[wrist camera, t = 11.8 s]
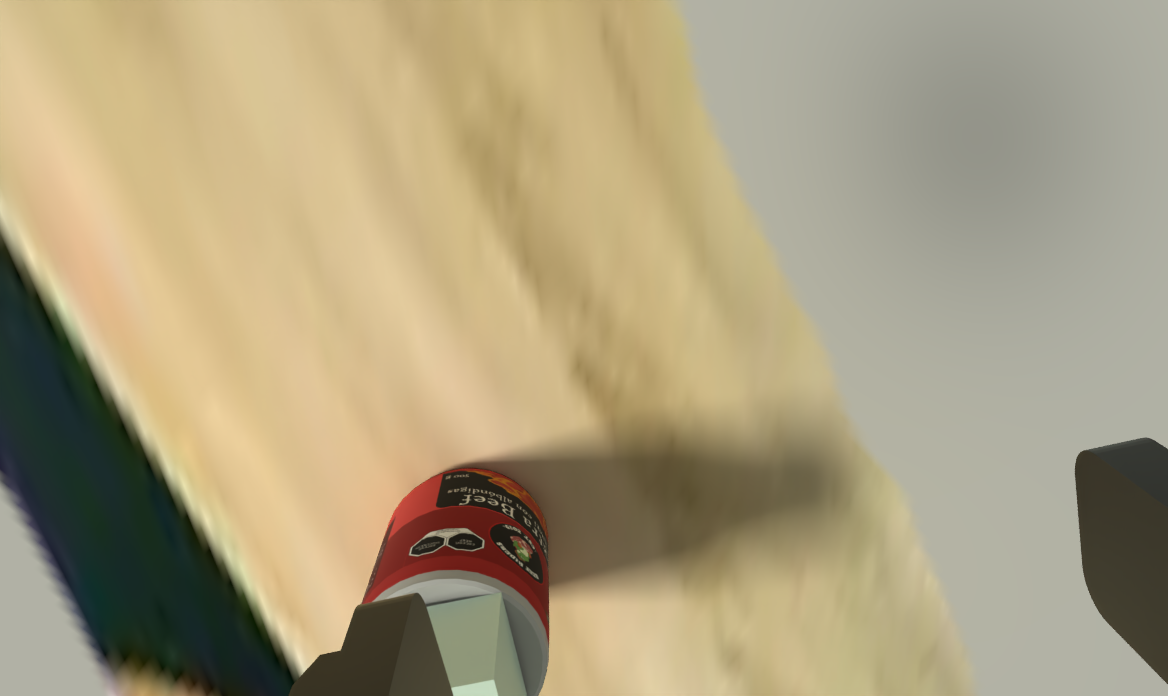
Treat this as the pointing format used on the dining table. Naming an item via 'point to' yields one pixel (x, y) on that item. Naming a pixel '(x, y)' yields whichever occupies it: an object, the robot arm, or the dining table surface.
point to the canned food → (472, 555)
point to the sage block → (477, 647)
